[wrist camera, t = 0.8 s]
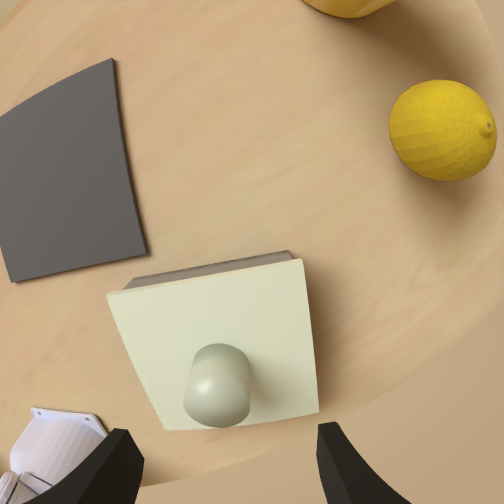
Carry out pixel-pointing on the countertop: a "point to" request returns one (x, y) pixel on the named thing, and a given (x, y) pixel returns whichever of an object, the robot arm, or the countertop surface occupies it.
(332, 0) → the plant pot
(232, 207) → the countertop surface
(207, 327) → the lid
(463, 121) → the lemon
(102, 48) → the countertop surface
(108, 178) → the mat
